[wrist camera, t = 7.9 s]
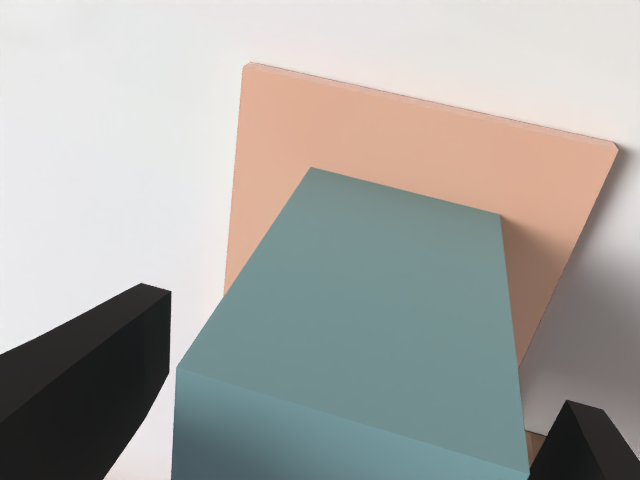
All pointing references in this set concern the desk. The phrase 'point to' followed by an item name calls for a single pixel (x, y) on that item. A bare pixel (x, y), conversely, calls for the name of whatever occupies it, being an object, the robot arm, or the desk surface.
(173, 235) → the desk surface
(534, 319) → the terracotta tile
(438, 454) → the teal block
